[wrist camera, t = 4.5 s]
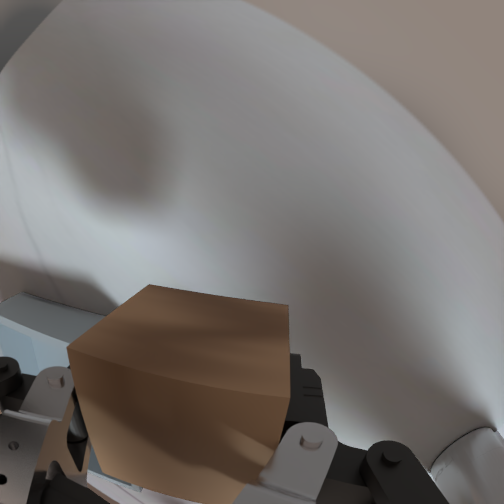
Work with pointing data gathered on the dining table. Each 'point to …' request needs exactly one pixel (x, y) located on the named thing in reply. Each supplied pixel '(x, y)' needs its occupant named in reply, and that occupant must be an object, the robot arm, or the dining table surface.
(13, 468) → the robot arm
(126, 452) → the walnut cube
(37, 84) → the dining table surface
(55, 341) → the tote
